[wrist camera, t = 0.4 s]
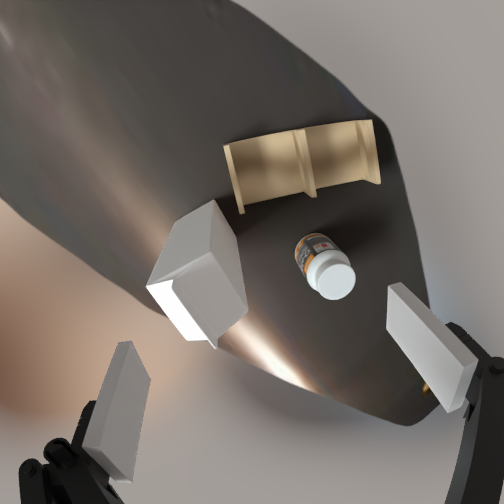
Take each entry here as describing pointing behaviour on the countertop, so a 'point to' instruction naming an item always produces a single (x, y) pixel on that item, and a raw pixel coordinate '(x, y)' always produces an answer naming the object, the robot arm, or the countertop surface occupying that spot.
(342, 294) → the pill bottle
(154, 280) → the milk
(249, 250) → the countertop surface
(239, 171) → the rack
